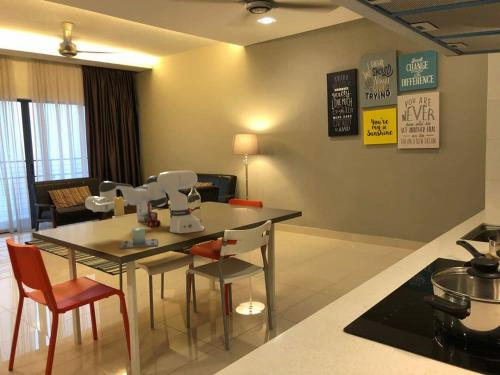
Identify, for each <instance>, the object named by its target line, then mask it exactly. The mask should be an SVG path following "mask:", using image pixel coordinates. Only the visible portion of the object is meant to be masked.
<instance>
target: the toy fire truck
mask: <svg viewBox="0 0 500 375" xmlns="http://www.w3.org/2000/svg"><path fill="white" fill-rule="evenodd" d="M145 223H146V224H145V225H146V226H147V227H150V228H154V226H156V227H160V226H161V224H162V223H161V220H158V212H155V211H152V212H151V211H149V214H148V221H146V222H145Z"/></svg>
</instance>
